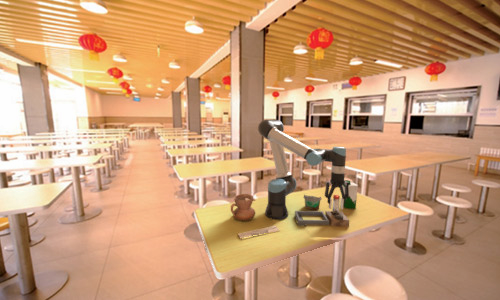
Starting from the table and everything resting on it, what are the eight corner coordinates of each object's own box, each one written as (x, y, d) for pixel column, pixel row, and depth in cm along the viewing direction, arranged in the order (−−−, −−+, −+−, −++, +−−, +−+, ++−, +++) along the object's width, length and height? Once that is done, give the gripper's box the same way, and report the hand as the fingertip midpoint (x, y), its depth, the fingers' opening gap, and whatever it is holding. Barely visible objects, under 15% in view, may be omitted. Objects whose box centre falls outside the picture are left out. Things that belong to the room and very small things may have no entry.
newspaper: (274, 227, 125) (274, 224, 125) (280, 233, 119) (280, 230, 119) (237, 235, 116) (237, 232, 116) (241, 242, 110) (241, 239, 110)
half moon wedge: (301, 210, 147) (301, 196, 146) (303, 206, 153) (303, 193, 151) (319, 213, 142) (320, 199, 140) (321, 210, 147) (321, 196, 146)
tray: (298, 225, 125) (298, 220, 125) (294, 216, 138) (295, 211, 138) (329, 226, 125) (329, 221, 124) (322, 216, 138) (322, 211, 137)
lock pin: (333, 220, 130) (334, 196, 127) (331, 218, 133) (332, 194, 131) (339, 220, 129) (340, 197, 127) (336, 218, 133) (338, 194, 131)
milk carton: (339, 205, 155) (341, 179, 152) (352, 205, 155) (353, 179, 152) (344, 210, 147) (346, 182, 144) (357, 210, 147) (360, 182, 144)
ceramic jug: (250, 210, 147) (249, 191, 145) (261, 218, 134) (260, 197, 132) (226, 216, 138) (225, 196, 136) (236, 226, 126) (235, 203, 124)
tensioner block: (331, 227, 123) (332, 217, 122) (325, 218, 135) (325, 208, 134) (348, 228, 123) (349, 217, 122) (340, 218, 135) (341, 208, 134)
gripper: (323, 173, 123) (321, 210, 127) (357, 174, 123) (354, 211, 126) (320, 170, 131) (318, 205, 134) (351, 170, 130) (349, 206, 133)
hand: (335, 208), depth 130 cm, fingers open, 6 cm apart
